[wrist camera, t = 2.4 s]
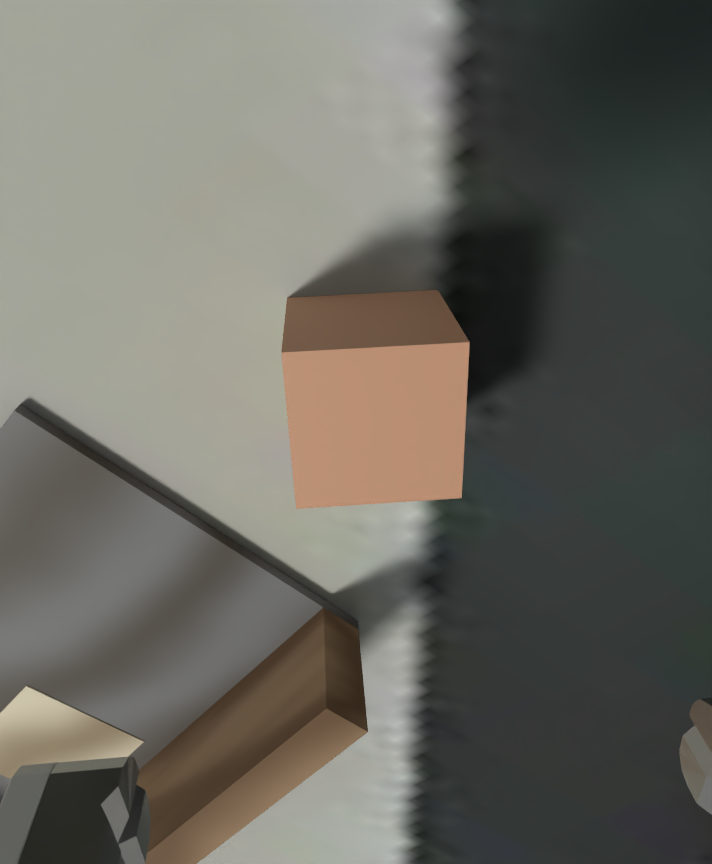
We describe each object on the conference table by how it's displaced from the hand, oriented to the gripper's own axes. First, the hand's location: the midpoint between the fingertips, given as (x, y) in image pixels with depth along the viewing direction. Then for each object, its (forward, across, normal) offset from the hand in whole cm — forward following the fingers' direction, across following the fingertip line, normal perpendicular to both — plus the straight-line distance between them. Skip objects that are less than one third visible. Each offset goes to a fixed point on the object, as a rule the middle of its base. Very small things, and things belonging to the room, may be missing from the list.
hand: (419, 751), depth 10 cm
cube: (+15, -1, 0) cm, 15 cm away
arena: (+15, +14, +15) cm, 26 cm away
